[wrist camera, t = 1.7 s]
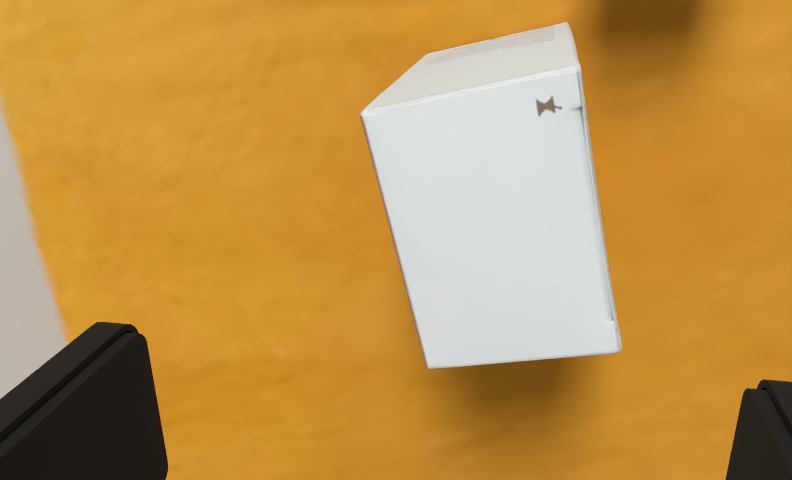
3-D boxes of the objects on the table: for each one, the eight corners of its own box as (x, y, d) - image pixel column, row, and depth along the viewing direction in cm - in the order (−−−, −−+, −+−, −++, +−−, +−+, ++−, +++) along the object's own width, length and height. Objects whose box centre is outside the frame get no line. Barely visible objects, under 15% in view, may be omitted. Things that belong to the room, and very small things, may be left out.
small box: (425, 51, 27) (352, 103, 17) (571, 18, 25) (581, 56, 16) (465, 240, 29) (421, 376, 20) (600, 221, 28) (624, 359, 18)
